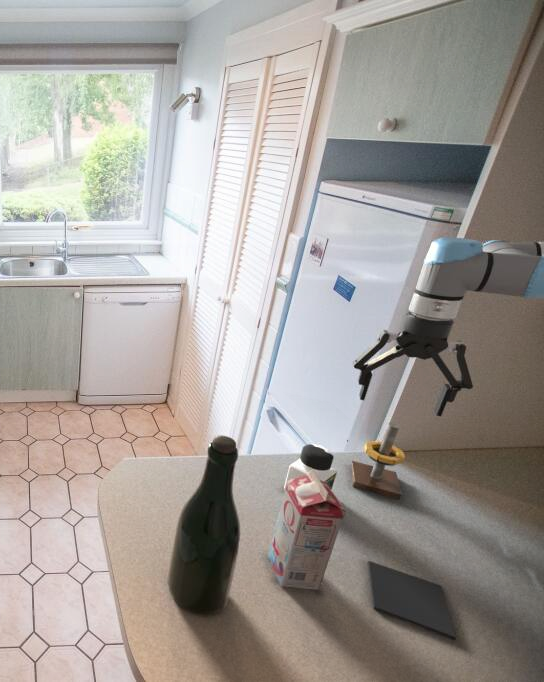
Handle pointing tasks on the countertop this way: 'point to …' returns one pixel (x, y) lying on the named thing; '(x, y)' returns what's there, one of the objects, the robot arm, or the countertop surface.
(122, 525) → the countertop surface
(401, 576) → the rubber mat
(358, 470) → the peg stand
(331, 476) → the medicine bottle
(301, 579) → the juice carton
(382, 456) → the brass ring
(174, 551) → the green wine bottle
